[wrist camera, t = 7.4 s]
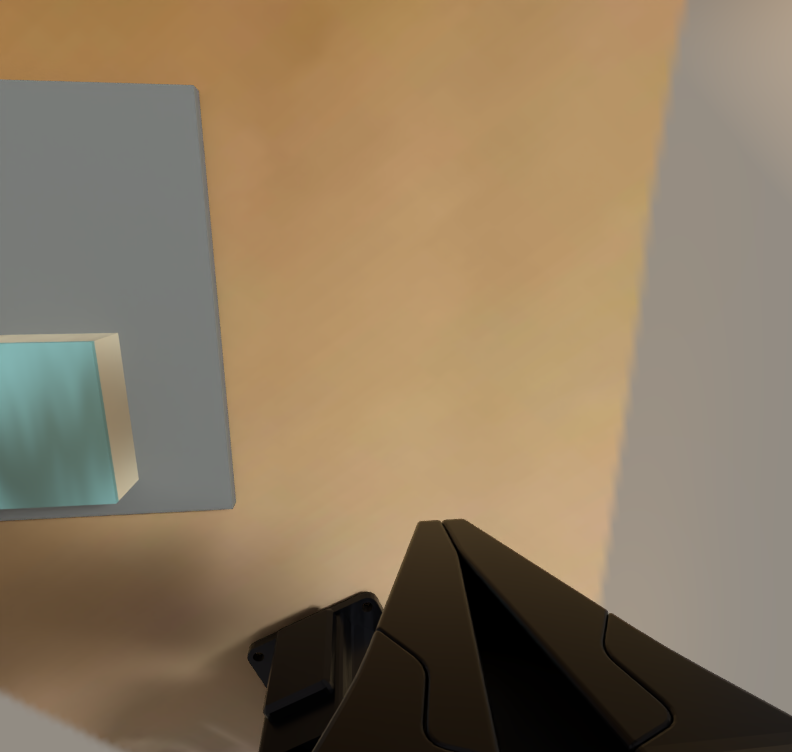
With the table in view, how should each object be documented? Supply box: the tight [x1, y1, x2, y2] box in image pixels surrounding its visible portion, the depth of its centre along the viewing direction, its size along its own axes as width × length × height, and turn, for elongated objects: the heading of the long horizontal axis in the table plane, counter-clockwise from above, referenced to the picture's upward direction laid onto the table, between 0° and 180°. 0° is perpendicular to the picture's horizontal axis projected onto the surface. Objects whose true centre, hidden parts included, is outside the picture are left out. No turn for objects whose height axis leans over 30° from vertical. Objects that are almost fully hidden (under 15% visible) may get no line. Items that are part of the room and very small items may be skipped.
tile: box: [0, 333, 139, 509], centre depth 18 cm, size 6×2×8 cm
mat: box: [0, 80, 236, 521], centre depth 18 cm, size 16×12×1 cm
